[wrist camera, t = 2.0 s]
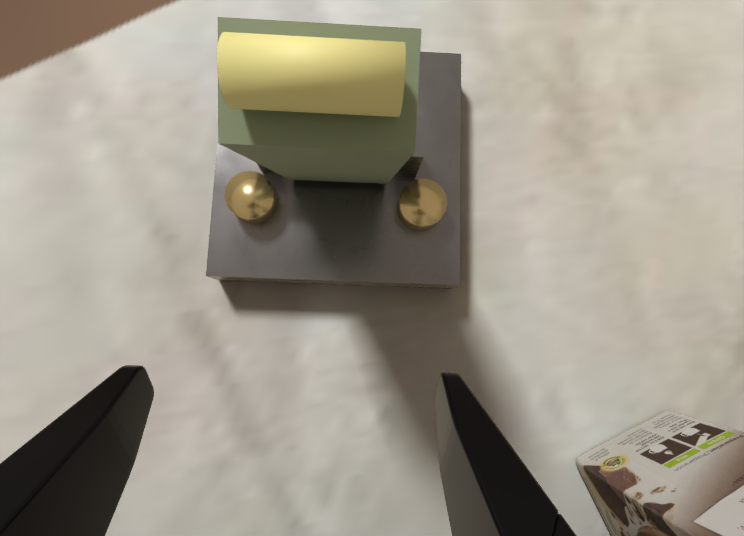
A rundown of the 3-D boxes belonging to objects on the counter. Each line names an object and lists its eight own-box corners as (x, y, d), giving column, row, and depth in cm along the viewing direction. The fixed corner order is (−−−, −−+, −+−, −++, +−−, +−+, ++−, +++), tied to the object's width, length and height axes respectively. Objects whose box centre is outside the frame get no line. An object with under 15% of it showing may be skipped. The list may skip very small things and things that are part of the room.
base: (451, 288, 24) (478, 278, 19) (218, 280, 23) (180, 267, 18) (452, 75, 26) (477, 11, 20) (236, 63, 25) (205, -5, 20)
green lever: (389, 184, 22) (433, 142, 9) (287, 180, 22) (184, 130, 9) (392, 126, 22) (442, -4, 9) (288, 121, 22) (182, -20, 9)
